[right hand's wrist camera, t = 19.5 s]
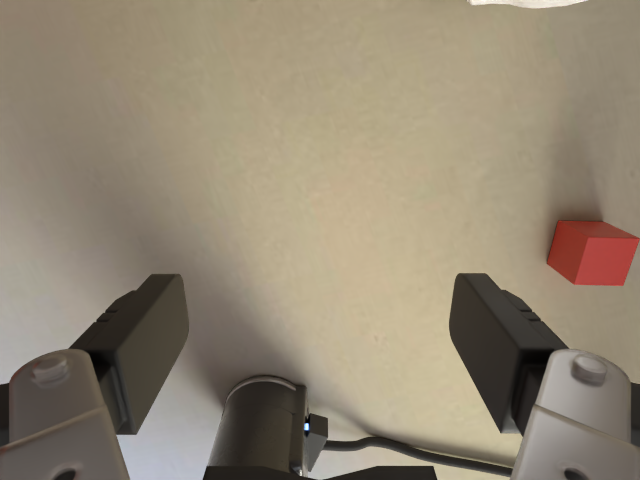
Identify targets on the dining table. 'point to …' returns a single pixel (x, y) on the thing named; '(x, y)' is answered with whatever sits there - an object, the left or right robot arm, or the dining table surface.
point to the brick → (592, 252)
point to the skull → (527, 3)
